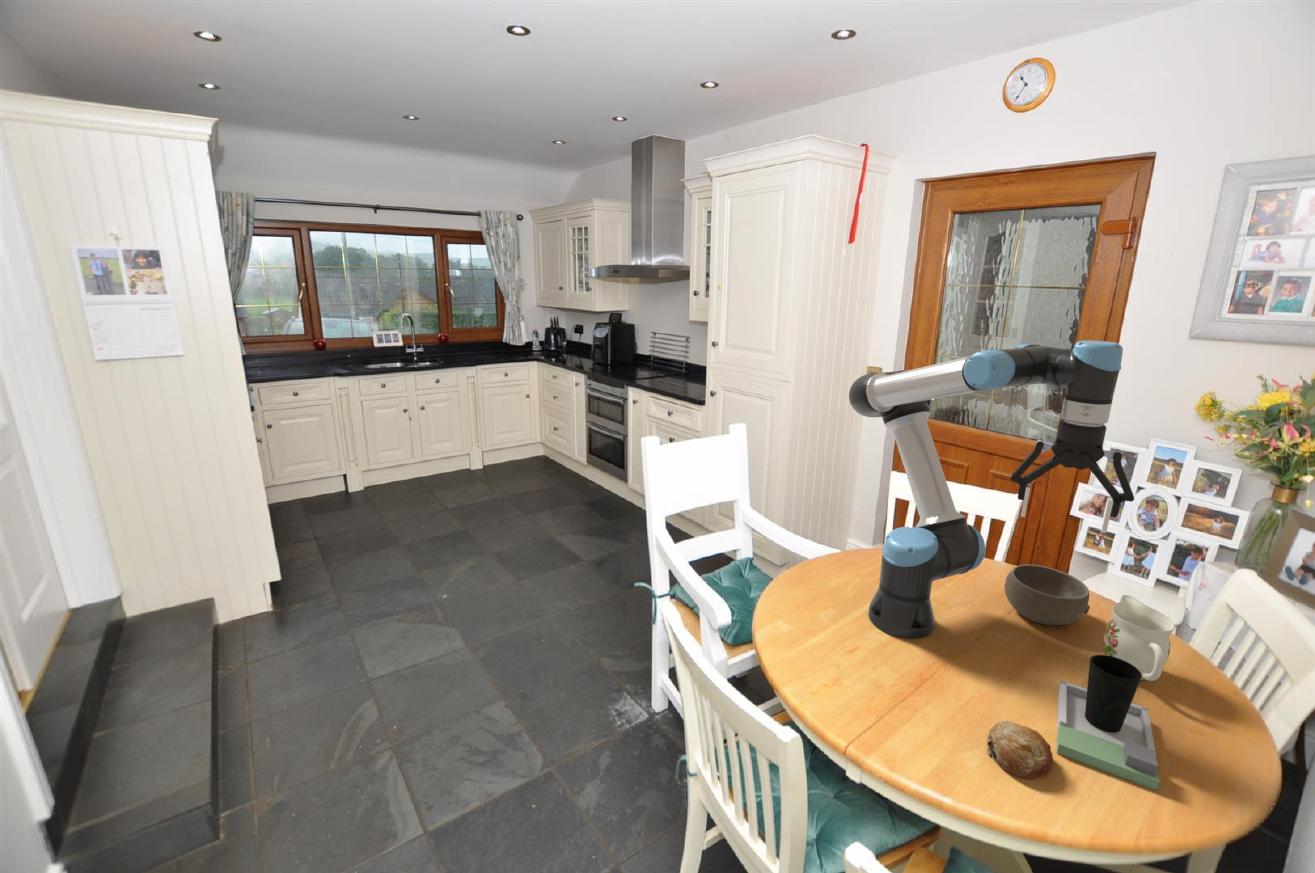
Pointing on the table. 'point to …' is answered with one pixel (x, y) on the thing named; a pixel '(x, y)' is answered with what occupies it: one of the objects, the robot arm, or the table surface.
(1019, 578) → the bowl
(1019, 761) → the bread roll
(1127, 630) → the pitcher
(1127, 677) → the cup
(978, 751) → the table surface
